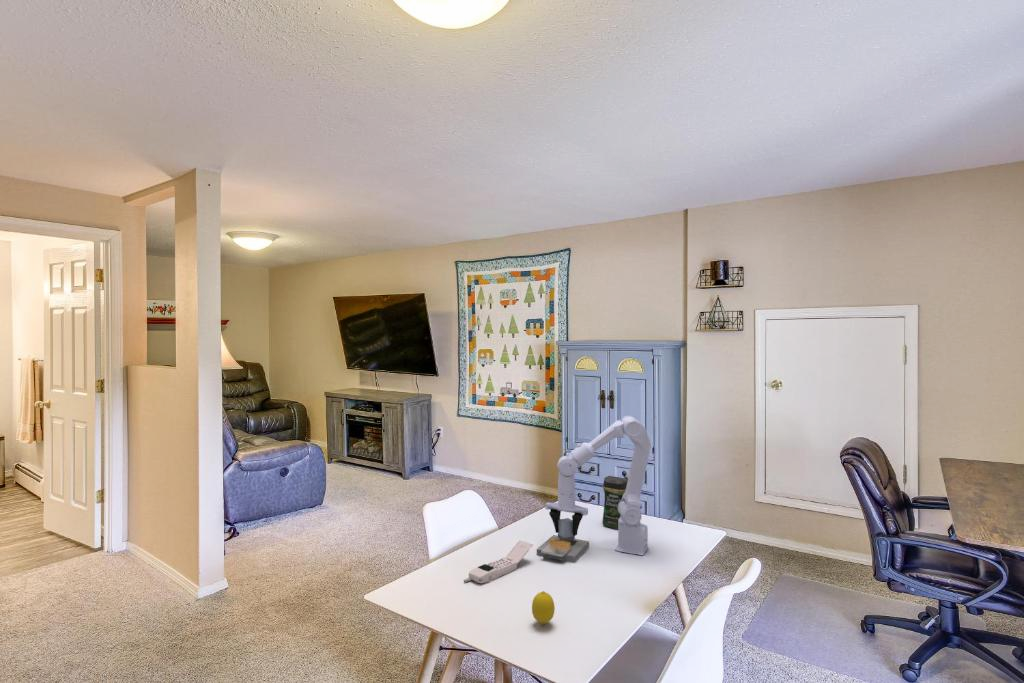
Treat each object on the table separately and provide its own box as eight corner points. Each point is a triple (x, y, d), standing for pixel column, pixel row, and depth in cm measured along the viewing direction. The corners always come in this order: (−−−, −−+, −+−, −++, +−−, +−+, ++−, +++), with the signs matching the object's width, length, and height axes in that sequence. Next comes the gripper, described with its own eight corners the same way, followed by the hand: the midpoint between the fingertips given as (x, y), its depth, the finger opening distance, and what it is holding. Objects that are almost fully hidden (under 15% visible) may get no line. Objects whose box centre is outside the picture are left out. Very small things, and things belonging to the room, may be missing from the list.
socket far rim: (561, 543, 182) (561, 538, 182) (554, 549, 177) (554, 543, 177) (551, 542, 184) (551, 536, 184) (545, 548, 178) (545, 542, 178)
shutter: (571, 548, 172) (571, 542, 172) (563, 557, 165) (563, 550, 165) (550, 544, 175) (550, 538, 175) (541, 552, 168) (541, 546, 168)
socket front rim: (589, 547, 179) (589, 541, 179) (587, 548, 178) (587, 542, 178) (553, 540, 185) (553, 534, 185) (551, 542, 184) (551, 536, 184)
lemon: (553, 618, 133) (553, 586, 133) (555, 630, 127) (555, 596, 127) (531, 618, 133) (531, 586, 133) (532, 630, 127) (532, 597, 127)
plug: (574, 539, 177) (574, 521, 177) (564, 541, 175) (564, 523, 175) (568, 535, 181) (568, 518, 181) (557, 537, 179) (557, 519, 179)
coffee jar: (599, 526, 200) (599, 477, 200) (608, 520, 206) (608, 473, 206) (623, 531, 194) (624, 481, 194) (632, 525, 201) (632, 476, 201)
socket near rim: (587, 548, 178) (587, 542, 178) (581, 555, 173) (581, 548, 173) (577, 546, 180) (577, 540, 180) (571, 553, 174) (571, 547, 174)
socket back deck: (581, 555, 173) (581, 548, 173) (574, 562, 166) (574, 556, 166) (545, 548, 178) (545, 542, 178) (536, 555, 172) (536, 549, 172)
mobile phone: (534, 544, 167) (476, 567, 149) (534, 563, 167) (476, 589, 149) (520, 539, 171) (461, 562, 153) (520, 558, 171) (462, 582, 153)
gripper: (591, 492, 179) (590, 533, 179) (551, 487, 185) (550, 526, 185) (584, 498, 172) (584, 539, 172) (543, 492, 179) (542, 532, 179)
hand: (566, 533), depth 178 cm, fingers closed on plug, 6 cm apart
